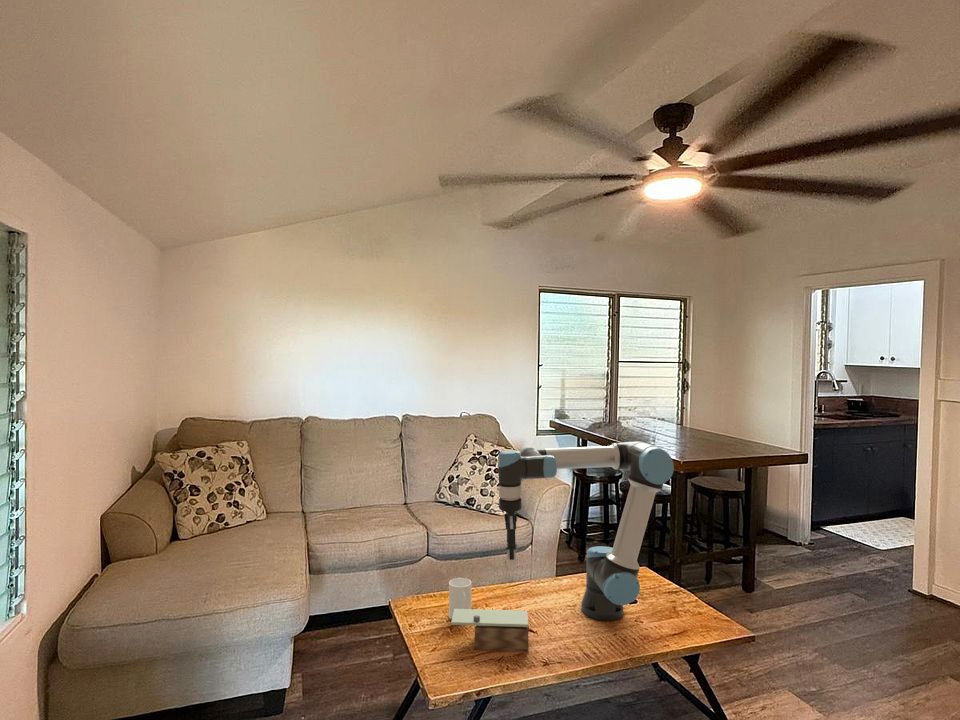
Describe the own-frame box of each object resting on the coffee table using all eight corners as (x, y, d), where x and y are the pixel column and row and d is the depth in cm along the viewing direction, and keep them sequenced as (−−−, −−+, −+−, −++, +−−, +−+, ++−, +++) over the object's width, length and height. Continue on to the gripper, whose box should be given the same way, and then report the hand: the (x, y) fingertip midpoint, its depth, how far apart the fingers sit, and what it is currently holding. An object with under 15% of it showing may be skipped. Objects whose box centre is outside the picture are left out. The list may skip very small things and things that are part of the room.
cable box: (527, 636, 176) (527, 615, 176) (528, 651, 168) (528, 629, 167) (476, 634, 177) (476, 614, 177) (474, 649, 168) (474, 627, 168)
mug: (475, 624, 184) (475, 590, 184) (450, 626, 182) (451, 592, 182) (469, 608, 196) (470, 576, 195) (446, 610, 194) (447, 578, 194)
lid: (527, 613, 178) (527, 606, 178) (528, 628, 168) (528, 620, 168) (454, 611, 179) (454, 604, 179) (451, 626, 169) (451, 618, 169)
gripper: (498, 492, 183) (499, 560, 184) (499, 503, 170) (501, 576, 171) (520, 492, 183) (521, 559, 184) (522, 502, 170) (524, 575, 170)
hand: (511, 567), depth 177 cm, fingers closed
